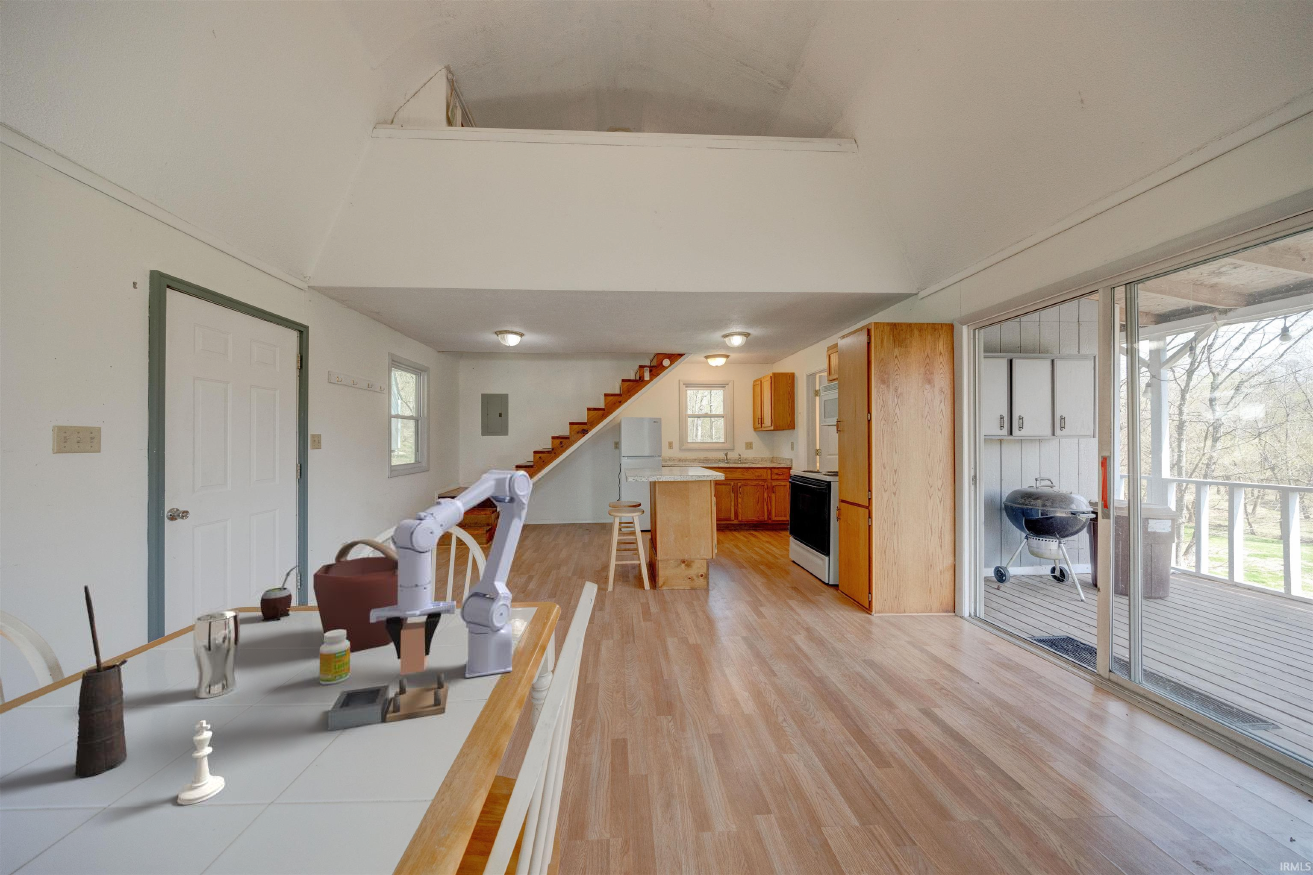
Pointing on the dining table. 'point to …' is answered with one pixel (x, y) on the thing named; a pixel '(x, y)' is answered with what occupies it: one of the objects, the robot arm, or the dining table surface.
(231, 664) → the beer glass
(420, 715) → the board
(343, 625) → the bucket
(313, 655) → the dining table surface
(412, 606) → the robot arm
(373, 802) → the dining table surface
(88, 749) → the butter churn
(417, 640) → the pin
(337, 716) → the socket collar
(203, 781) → the chess piece
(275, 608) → the mate gourd
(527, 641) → the dining table surface
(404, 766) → the dining table surface
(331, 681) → the supplement bottle
